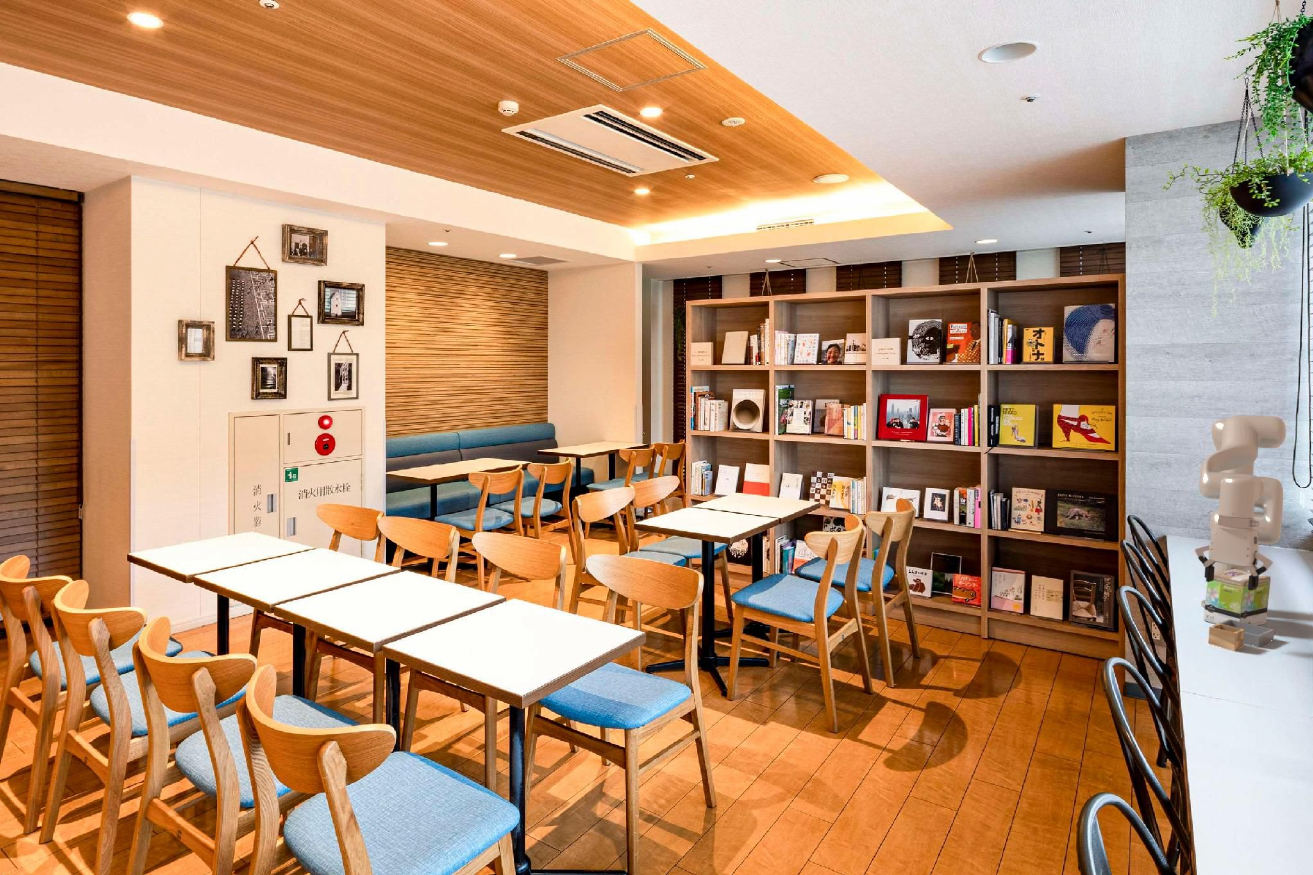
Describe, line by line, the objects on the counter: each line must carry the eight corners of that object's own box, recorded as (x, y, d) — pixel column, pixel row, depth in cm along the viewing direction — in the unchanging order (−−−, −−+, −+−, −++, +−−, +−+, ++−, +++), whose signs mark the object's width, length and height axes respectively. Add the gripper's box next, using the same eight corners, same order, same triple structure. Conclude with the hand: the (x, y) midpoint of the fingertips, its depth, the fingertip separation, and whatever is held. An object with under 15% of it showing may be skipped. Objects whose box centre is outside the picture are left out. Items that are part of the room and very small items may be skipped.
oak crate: (1217, 640, 211) (1218, 623, 211) (1243, 647, 206) (1244, 629, 206) (1208, 644, 208) (1209, 627, 207) (1234, 651, 203) (1235, 633, 202)
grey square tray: (1228, 629, 221) (1229, 619, 220) (1273, 640, 212) (1274, 629, 211) (1212, 635, 215) (1213, 625, 214) (1258, 647, 206) (1259, 636, 206)
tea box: (1240, 631, 219) (1244, 581, 218) (1202, 621, 228) (1206, 572, 227) (1267, 623, 226) (1271, 575, 225) (1229, 614, 235) (1233, 567, 234)
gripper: (1280, 526, 199) (1275, 591, 200) (1204, 516, 213) (1199, 576, 214) (1269, 529, 195) (1263, 595, 196) (1192, 518, 209) (1187, 579, 210)
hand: (1230, 585), depth 205 cm, fingers open, 9 cm apart
